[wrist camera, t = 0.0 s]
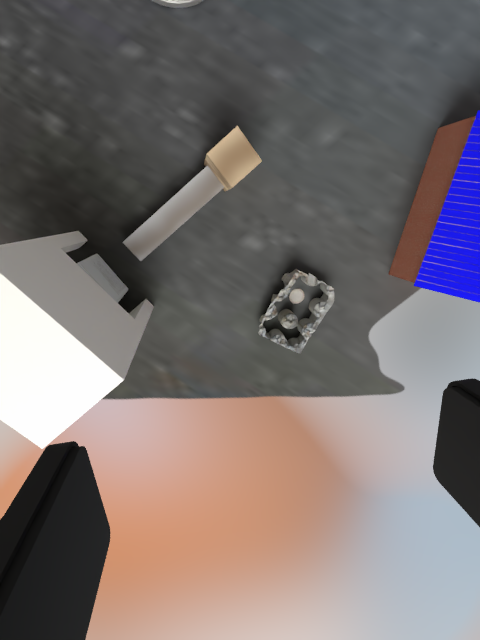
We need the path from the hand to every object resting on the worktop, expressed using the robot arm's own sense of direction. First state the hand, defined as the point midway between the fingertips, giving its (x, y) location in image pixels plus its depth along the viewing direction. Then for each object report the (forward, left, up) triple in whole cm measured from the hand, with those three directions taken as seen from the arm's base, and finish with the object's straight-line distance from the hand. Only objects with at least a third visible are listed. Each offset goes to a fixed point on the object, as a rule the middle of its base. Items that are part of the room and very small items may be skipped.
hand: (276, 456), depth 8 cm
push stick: (-7, +2, -37) cm, 38 cm away
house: (+17, +29, -38) cm, 51 cm away
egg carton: (+13, +4, -38) cm, 40 cm away
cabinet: (-6, -15, -37) cm, 41 cm away
